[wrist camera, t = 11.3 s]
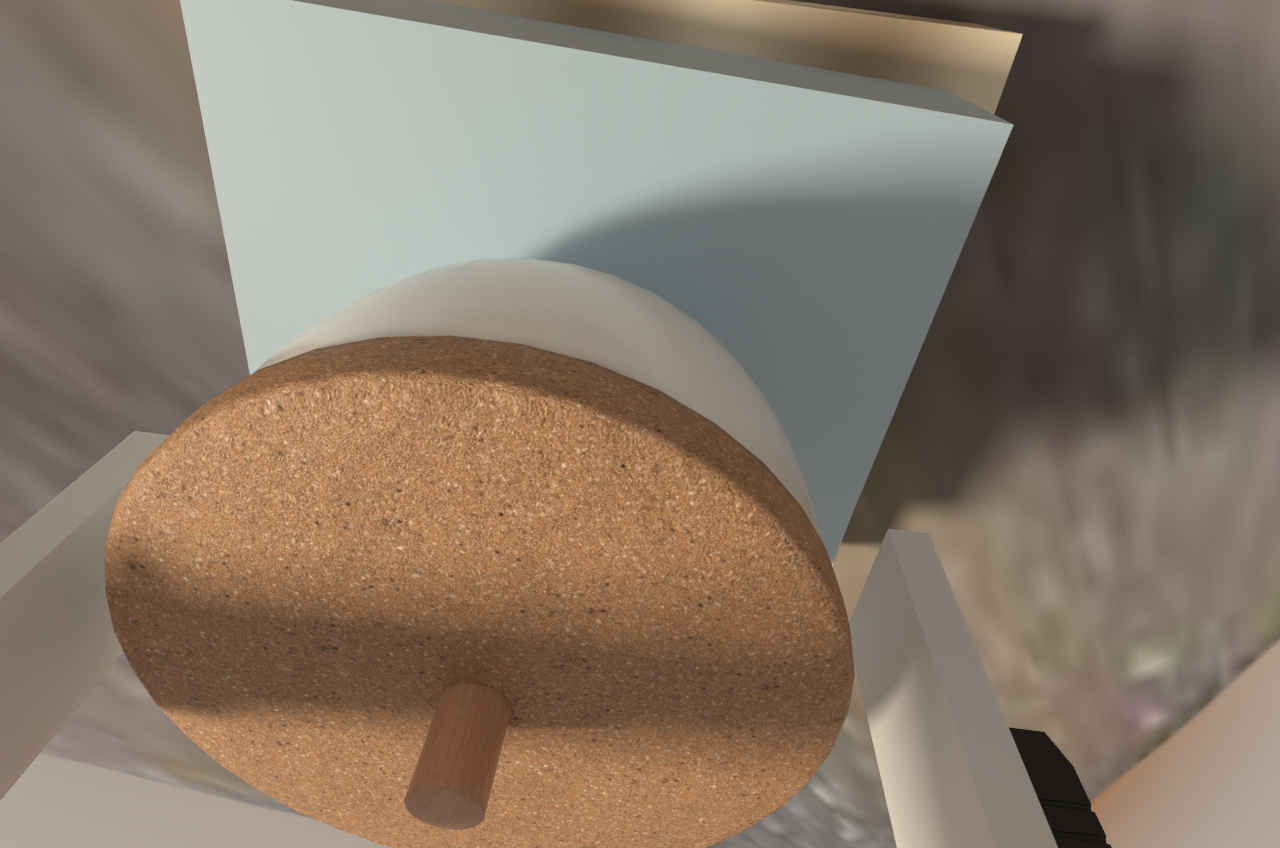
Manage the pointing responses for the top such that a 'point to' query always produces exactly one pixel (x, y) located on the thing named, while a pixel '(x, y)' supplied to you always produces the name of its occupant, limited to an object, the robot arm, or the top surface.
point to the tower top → (597, 189)
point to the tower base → (803, 38)
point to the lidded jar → (491, 572)
